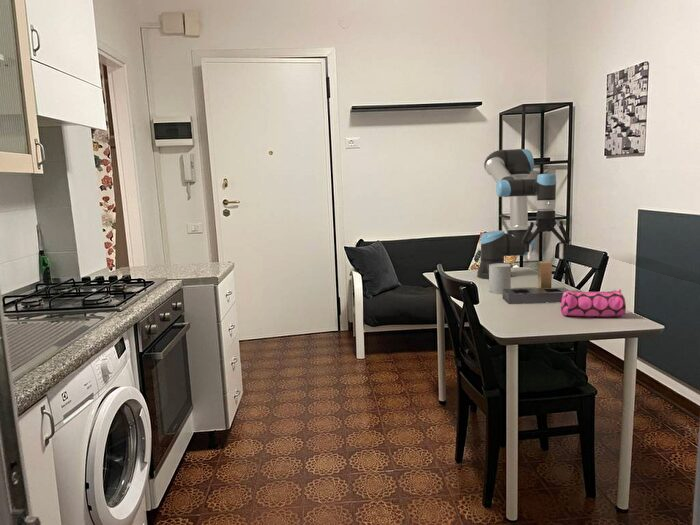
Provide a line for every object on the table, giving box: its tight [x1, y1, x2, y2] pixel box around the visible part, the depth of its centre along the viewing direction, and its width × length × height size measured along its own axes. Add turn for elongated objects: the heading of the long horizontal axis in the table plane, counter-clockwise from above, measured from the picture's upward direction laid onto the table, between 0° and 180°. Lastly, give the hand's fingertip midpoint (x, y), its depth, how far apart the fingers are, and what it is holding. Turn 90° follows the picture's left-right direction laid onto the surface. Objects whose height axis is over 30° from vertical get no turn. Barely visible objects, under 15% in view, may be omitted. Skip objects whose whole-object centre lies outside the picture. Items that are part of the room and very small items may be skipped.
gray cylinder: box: [488, 262, 512, 295], centre depth 241 cm, size 10×10×12 cm
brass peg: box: [537, 260, 553, 288], centre depth 234 cm, size 4×4×14 cm
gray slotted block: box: [502, 286, 571, 305], centre depth 223 cm, size 10×26×4 cm, turn 88°
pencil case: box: [560, 288, 627, 318], centre depth 197 cm, size 21×10×10 cm, turn 84°
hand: (545, 259), depth 232 cm, fingers open, 13 cm apart
